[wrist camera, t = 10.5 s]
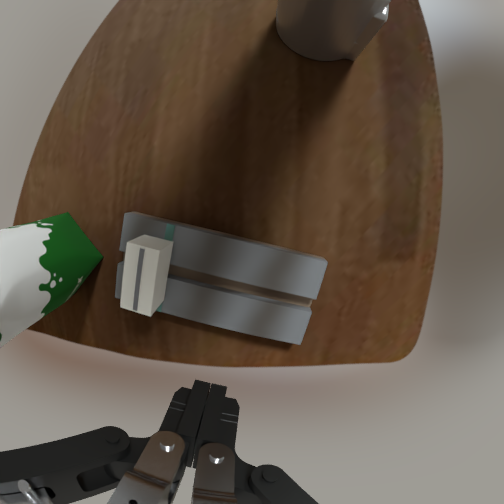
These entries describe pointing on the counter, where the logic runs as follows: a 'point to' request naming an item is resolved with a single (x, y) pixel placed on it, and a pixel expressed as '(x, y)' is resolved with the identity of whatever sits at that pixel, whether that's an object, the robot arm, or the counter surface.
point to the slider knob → (145, 274)
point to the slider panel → (231, 279)
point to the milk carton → (41, 270)
